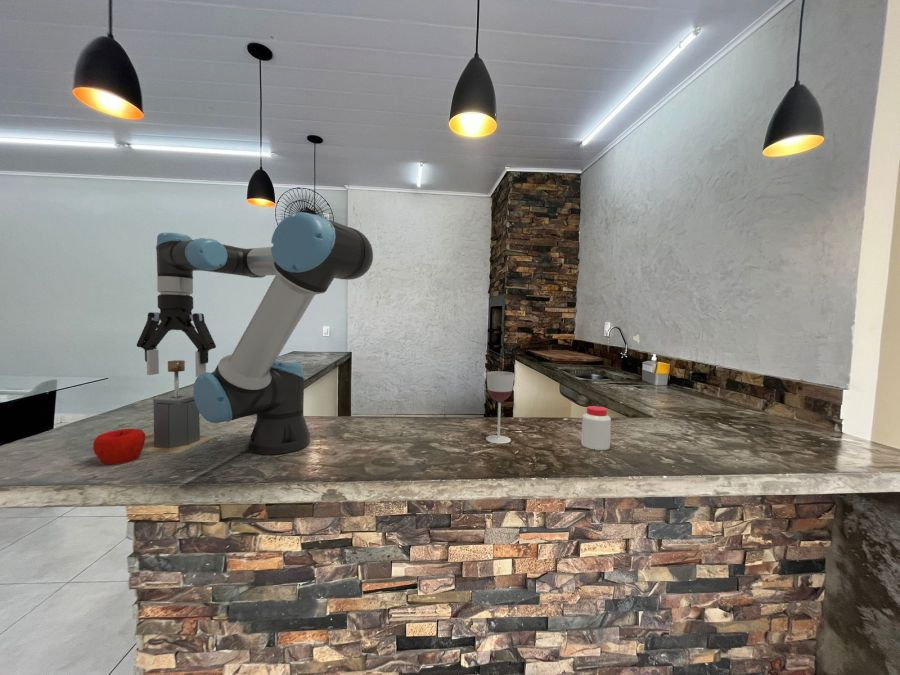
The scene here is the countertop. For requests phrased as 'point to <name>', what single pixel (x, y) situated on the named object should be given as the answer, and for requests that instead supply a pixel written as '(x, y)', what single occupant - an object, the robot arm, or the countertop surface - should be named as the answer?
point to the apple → (119, 446)
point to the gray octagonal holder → (175, 421)
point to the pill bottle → (596, 428)
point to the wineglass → (499, 396)
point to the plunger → (176, 373)
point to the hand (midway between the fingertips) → (176, 375)
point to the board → (150, 448)
